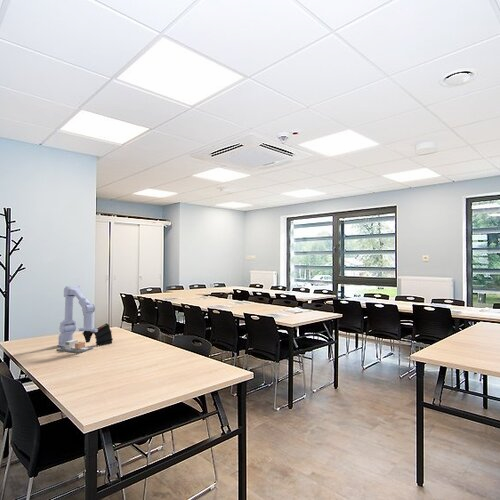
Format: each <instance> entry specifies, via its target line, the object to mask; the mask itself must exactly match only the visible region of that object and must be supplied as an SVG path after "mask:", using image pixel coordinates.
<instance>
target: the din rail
mask: <svg viewBox="0 0 500 500" xmlns="http://www.w3.org/2000/svg"><path fill="white" fill-rule="evenodd" d="M91 350H94V347H91V346H90V347H88V346H85V347H83V348H80V349H75V347H74V348H71V349H70V350H68V349H65V345H61V346H60V348H57V349H56V351H57V352H65V353H75V354H81V353H85V352H88V351H91Z"/></svg>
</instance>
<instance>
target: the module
mask: <svg viewBox="0 0 500 500" xmlns="http://www.w3.org/2000/svg"><path fill="white" fill-rule="evenodd" d="M78 342H79V341H78V339H73V340H70V341H66V342H65V349H68V350H70V349H71V348H74V347H75V343H78Z"/></svg>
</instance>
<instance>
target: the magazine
mask: <svg viewBox="0 0 500 500" xmlns="http://www.w3.org/2000/svg"><path fill="white" fill-rule="evenodd" d="M96 329H98V332H94V333H93V334H94V336H95V337H94V338H95V345H96V346H104V345H110V344H113V340H114V339H113V334H112V330H111V328H110V324H108V323H105V324H103V325H100V326H99V327H98V328H96ZM93 334H92V335H93Z"/></svg>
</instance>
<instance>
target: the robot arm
mask: <svg viewBox="0 0 500 500" xmlns="http://www.w3.org/2000/svg"><path fill="white" fill-rule="evenodd" d="M75 297H76V299H77V300H78V304H79V306H80V307H81V311H82V317H83V327H80V328H78V332H82V335H83V337H84V340H85V344H86V343H87V344H88V343H91V342H90V341H91V338H92V336H93V333H94V332H98V329H97V328H94V312H95V310H96V308H95V305H94V304H93V303H90V301H89V299H87V297H84V295H83V293H82V287H81V285H75V286H74V285H73V286H71V285H69V286H68V285H67V286H65V287H64V289H63V298H65V300H64V301H65V302H64V303H65V306H64V320H62V321H61V322H60V323H59V324H60V326H59V332H60V334H59V335H58V343H57V346H58V347H61V345H65V342H66V341H70V340H74V333H75V332H76V330H77V325H76V321H75V320H74V319H73V309H74V308H73V307H74V305H73V304H74V298H75Z"/></svg>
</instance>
